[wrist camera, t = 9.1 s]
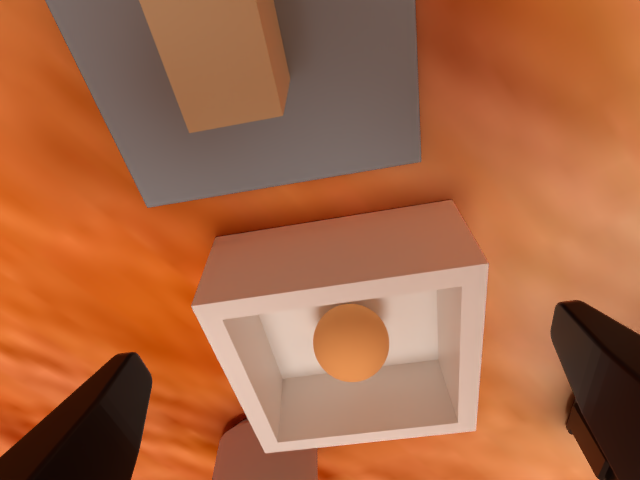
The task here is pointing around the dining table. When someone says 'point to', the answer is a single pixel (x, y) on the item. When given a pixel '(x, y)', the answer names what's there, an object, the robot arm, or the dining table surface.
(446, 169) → the dining table surface
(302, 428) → the box
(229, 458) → the can
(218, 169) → the lid
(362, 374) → the ball
